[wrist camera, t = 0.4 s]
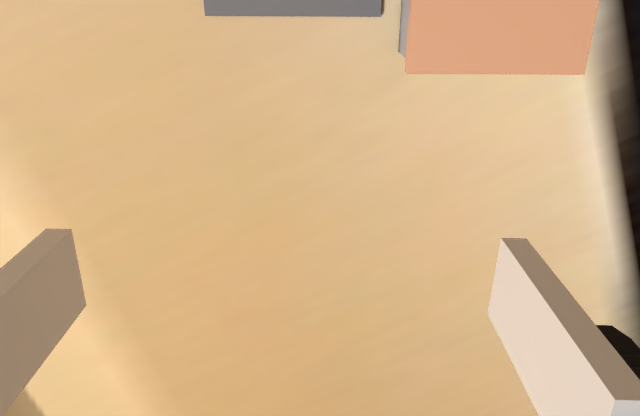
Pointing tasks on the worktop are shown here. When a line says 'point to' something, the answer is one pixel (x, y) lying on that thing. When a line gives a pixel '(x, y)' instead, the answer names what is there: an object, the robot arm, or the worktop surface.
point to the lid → (499, 36)
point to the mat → (293, 8)
